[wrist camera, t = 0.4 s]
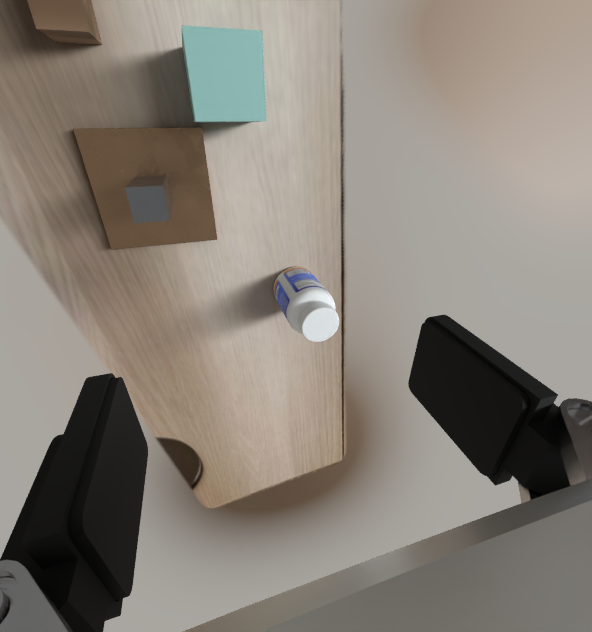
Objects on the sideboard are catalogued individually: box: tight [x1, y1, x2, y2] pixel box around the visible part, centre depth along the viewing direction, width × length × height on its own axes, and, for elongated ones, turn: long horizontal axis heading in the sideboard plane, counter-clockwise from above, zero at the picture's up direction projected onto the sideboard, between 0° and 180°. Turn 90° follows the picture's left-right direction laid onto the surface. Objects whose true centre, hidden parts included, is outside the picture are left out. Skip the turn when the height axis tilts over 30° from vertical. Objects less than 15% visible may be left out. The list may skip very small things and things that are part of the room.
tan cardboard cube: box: [27, 0, 102, 45], centre depth 21 cm, size 3×3×4 cm
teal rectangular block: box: [182, 26, 266, 122], centre depth 25 cm, size 5×5×7 cm
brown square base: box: [73, 128, 217, 249], centre depth 27 cm, size 10×10×7 cm
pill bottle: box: [274, 267, 339, 342], centre depth 35 cm, size 5×5×10 cm
